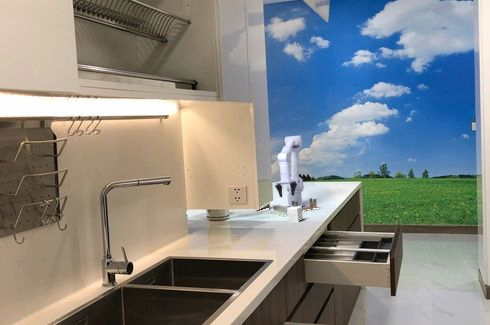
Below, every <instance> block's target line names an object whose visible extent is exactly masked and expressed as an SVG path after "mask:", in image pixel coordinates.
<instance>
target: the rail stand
mask: <svg viewBox="0 0 490 325" xmlns="http://www.w3.org/2000/svg"><path fill="white" fill-rule="evenodd" d="M292 207H298V202H294V201H292ZM313 208H319V209H320V207H318V206H317V198H311V197H310V198H309V206H303V207H302V211H303V210H307V209H313Z"/></svg>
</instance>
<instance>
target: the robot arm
mask: <svg viewBox="0 0 490 325" xmlns="http://www.w3.org/2000/svg"><path fill="white" fill-rule="evenodd" d="M284 144H285V146H283V147H282V150H281V152H279V153H278V154H277V162H278V166H279V173H280V174H279V175H280V180H278V181H273V186H274V187H275V188H276V191H277V192H278V195H279V196H278V197H279V198H283V185H285V188H286V191H287V192H288V194H287V205H289V206H292V201H294V202H298V206H301V205H303V198H302V192H303V191H304V186H305V184H304V181H303V179H302V177H300V176H299V175H300V173H299V172H300V170H299V169H300V151H301V150H303V138H302V136H301V135H292V136H291V135H289V136H288V135H287V136H285V138H284ZM290 162H291V163H290ZM290 164H291V166H290Z"/></svg>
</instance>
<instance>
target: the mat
mask: <svg viewBox="0 0 490 325" xmlns="http://www.w3.org/2000/svg"><path fill="white" fill-rule="evenodd" d="M270 211H271V210H270ZM271 212H273V213H276V214H279V215H278V216H280V215H283V216H282V217H285V216H284V215H288V214H285V213H281V212H278V211H271ZM273 213H272V214H273ZM276 214H275V215H276Z"/></svg>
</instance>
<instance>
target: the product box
mask: <svg viewBox="0 0 490 325" xmlns="http://www.w3.org/2000/svg"><path fill="white" fill-rule="evenodd" d="M302 208H303V207H289V208H287V214H288V216H287V222H288V223H300V222H301V221H300V220H302V219H303V220H304V217H303V216H304V215H303V212H302ZM303 220H302V221H303ZM299 221H300V222H299Z"/></svg>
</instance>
